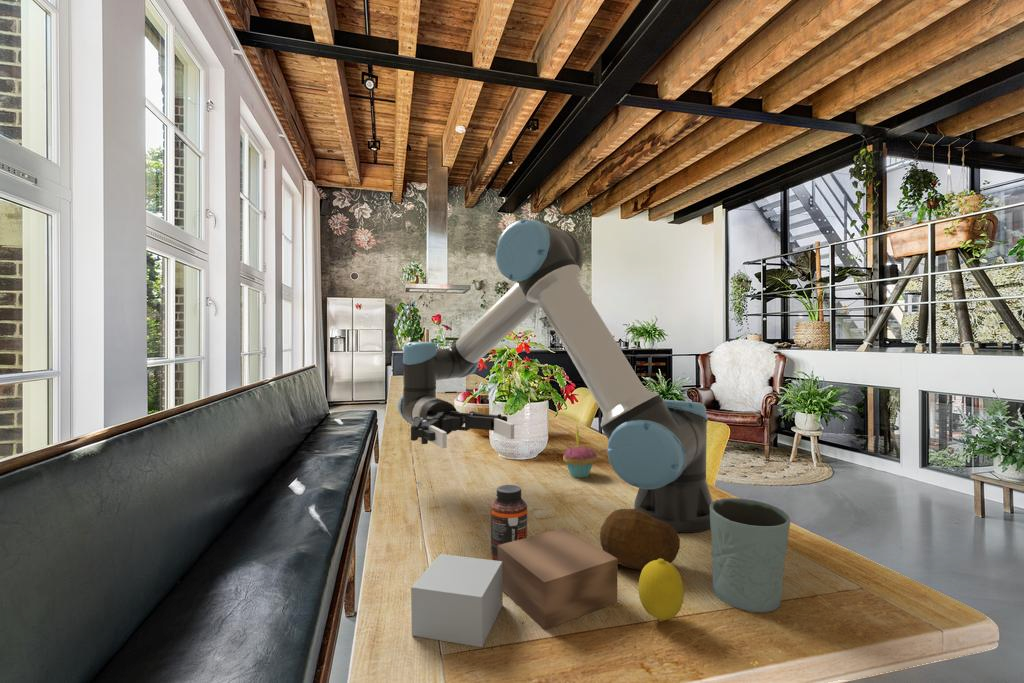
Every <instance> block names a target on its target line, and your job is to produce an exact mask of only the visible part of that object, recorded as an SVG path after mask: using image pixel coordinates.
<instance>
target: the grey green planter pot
mask: <svg viewBox="0 0 1024 683" xmlns="http://www.w3.org/2000/svg"><path fill="white" fill-rule="evenodd" d="M710 527H711V528H710V532H711V556H712V560H711V561H712V567H711V568H712V571H711V573H712V579H711V580H712V590H713V593H714V594H715V596H716V597H717V598H718V599H719V600H720V601H722V602H724V603H725V604H727V605H729V606H731V607H734V608H735V609H740V610H742V611H747V612H751V613H752V612H753V613H768V612H773V611H775V610H777V609H778V608H779V607H780V605H781V602H782V601H781V600H782V594H783V584H784V583H783V582H784V581H783V575H784V569H785V556H786V554H787V551H788V550H787V549H788V541H789V534H790V529H791V528H790V527H791V518H790V515H789V514H787V513H786V512H785V511H784V510H782V509H780V508H779V507H777V506H774V505H773V504H769V503H766V502H763V501H759V500H754V499H748V498H738V497H737V498H735V497H734V498H733V497H732V498H731V497H729V498H720V499H716V500H713V502H712V503H711V504H710Z"/></svg>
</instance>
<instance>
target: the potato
mask: <svg viewBox="0 0 1024 683" xmlns="http://www.w3.org/2000/svg"><path fill="white" fill-rule="evenodd" d="M599 541H600V542H599V543H600V546H601V549H602V550H604V551H605V552H607V553H609V554H610V555H612V556H614V557H616V558H617V559H618V565H620V566H623V567H626V568H628V569H633V570H637V571H642V569H643V568H644V567H645V565H646V564H648V563H649V562H651V561H654V560H658V559H659V558H661V559H664V561H667V562H669V563H670V564H672V563H673V562H674V561H675V559H676V558H677V556H678V553H679V551H680V548H681V547H680V545H681V542H680V536H679V533H678V532H677V531H676V530H675V529H674V528H673V527H672V525H671V524H669V523H666V522H663V521H661V520H659V519H656V518H654V517H652V516H651V515H650V514H648V513H646V512H644V511H642V510H638V509H634V508H620V509H615V510H614V511H613V512H611V513H610V514H609V515H608V516H607V517H606V518H605V520H604V522H603V524H602V526H601V528H600V533H599Z"/></svg>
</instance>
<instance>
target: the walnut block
mask: <svg viewBox="0 0 1024 683" xmlns="http://www.w3.org/2000/svg"><path fill="white" fill-rule="evenodd" d="M497 550H498V561H502V583H503V593H505V595H506V596H508V597H509V598H510V599H511V600H512V601H513V602H514V603H515V604H516V605H517V606H518V607H519V608H520V609H521V610H523V612H525V613H526V614H527V616H529V617H530V618H531V619H532V620H533V621H534V622H535V623H536V624H538V625H539V627H541V629H543V630H544V631H546V630H548V629H551V628H553V627H556V626H559V625H561V624H564V623H566V622H569V621H572V620H574V619H577V618H580V617H582V616H586V615H588V614H590V613H593V612H595V611H597V610H601V609H603V608H605V607H608V606H610V605H613V604H616V603H618V565H619V564H618V559H617V558H616V557H614V556H612V555H610V554H609V553H607V552H605V551H604V550H603V549H602V548H600V547H598V546H597V545H595V544H593V543H592V542H590V541H588V540H587V539H584V538H583V537H582V536H580V535H578V534H576V533H574V532H573V531H571V530H569V529H568V528H566V527H562V528H558V529H554V530H550V531H546V532H543V533H539V534H538V533H537V534H535V535H532V536H527V538H523V539H519V540H516V541H512V542H508V543H504V544H501V545H497Z"/></svg>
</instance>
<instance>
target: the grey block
mask: <svg viewBox="0 0 1024 683" xmlns="http://www.w3.org/2000/svg"><path fill="white" fill-rule="evenodd" d="M503 593H504V592H503V583H502V561H496V560H494V559H484V558H479V557H478V558H476V557H469V556H459V555H454V554H453V555H451V554H445V553H439V554H438V555H437V557H436V558H435V559H434V560H433V561H432V563H431V564H430V565H429V566H428V567H427V569H425V571H424V572H423V573H422V574H421V575H420V577H418V579H417V580H416V581H415V582H414V583H413V585H412V586H411V588H410V594H411V595H410V596H411V599H410V600H411V603H410V604H411V609H410V610H411V636H412V637H418V638H425V639H430V640H435V641H442V642H448V643H453V644H454V643H455V644H458V645H459V644H460V645H466V646H472V647H478V648H483V646H484V644H485V642H486V640H487V638H488V636H489V634H490V632H491V630H492V628H493V626H494V623H495V622H496V621H497V620H496V619H497V618H498V616H499V614H500V612H501V609H502V608H503V605H504V604H503V603H504V602H503V600H504V599H503Z"/></svg>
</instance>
